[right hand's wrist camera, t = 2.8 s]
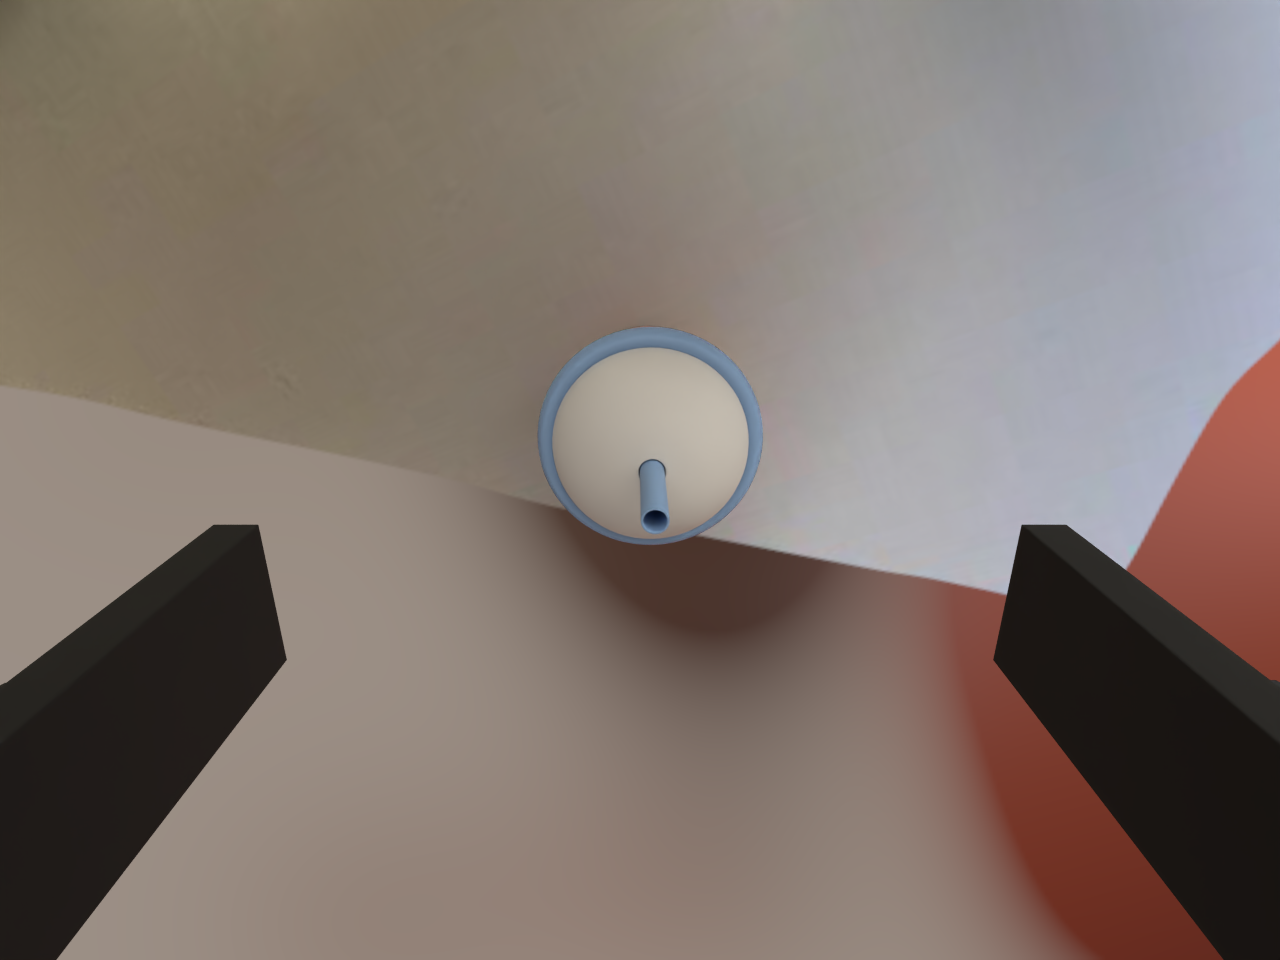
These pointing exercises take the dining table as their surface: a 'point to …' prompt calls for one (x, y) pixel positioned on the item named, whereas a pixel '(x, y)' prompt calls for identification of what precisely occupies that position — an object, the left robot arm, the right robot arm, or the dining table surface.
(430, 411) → the dining table surface
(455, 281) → the dining table surface
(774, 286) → the dining table surface
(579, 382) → the cup with straw
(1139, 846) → the right robot arm
